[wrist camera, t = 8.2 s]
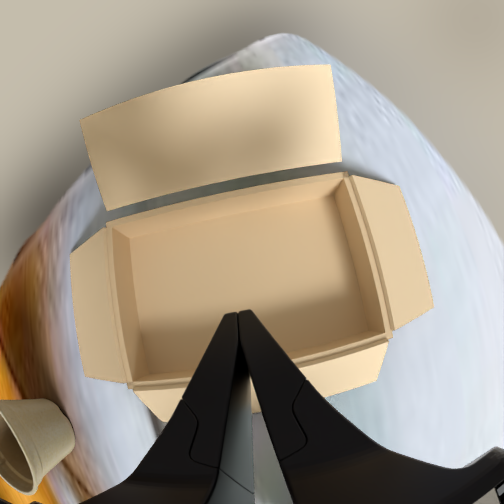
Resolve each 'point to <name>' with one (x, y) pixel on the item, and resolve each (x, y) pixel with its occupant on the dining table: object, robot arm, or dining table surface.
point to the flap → (213, 132)
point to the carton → (251, 283)
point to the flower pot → (32, 441)
